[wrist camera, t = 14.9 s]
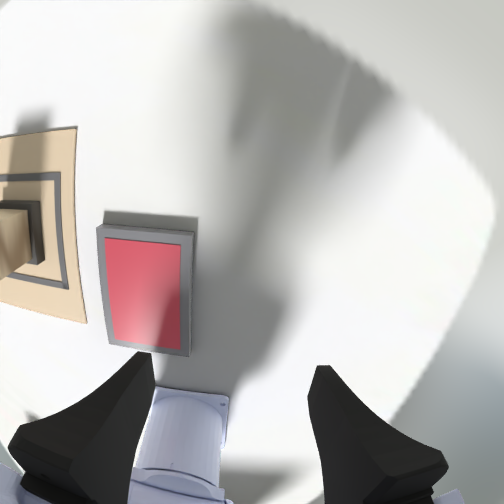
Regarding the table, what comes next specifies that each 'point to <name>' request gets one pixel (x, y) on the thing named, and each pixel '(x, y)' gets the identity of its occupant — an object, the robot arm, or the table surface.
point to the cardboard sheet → (45, 222)
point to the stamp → (20, 235)
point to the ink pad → (146, 287)
